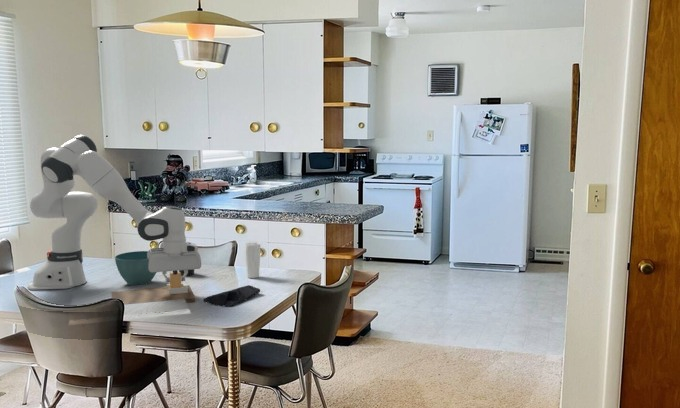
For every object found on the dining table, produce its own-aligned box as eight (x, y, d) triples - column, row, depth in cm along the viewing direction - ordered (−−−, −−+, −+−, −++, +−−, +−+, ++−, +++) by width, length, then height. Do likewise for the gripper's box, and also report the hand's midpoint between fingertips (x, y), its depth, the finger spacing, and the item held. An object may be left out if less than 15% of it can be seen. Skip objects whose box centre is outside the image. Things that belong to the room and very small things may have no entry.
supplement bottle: (192, 276, 277) (191, 249, 275) (177, 276, 277) (176, 249, 275) (196, 272, 284) (195, 246, 282) (181, 272, 284) (180, 246, 282)
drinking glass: (262, 275, 279) (261, 242, 277) (258, 279, 272) (258, 245, 270) (247, 275, 279) (247, 242, 277) (243, 278, 273) (243, 245, 271)
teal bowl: (147, 290, 253) (146, 260, 252) (107, 287, 257) (106, 258, 255) (168, 279, 271) (167, 251, 269) (130, 277, 274) (129, 250, 273)
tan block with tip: (171, 292, 244) (170, 267, 243) (170, 290, 248) (169, 265, 246) (181, 291, 245) (180, 266, 244) (180, 289, 249) (179, 264, 248)
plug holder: (169, 294, 242) (168, 289, 241) (167, 288, 250) (166, 284, 249) (187, 292, 244) (187, 287, 244) (185, 287, 252) (185, 282, 252)
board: (111, 309, 226) (111, 305, 226) (111, 295, 245) (111, 291, 245) (195, 301, 237) (195, 297, 237) (189, 288, 255) (189, 285, 255)
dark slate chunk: (266, 295, 247) (266, 284, 247) (228, 309, 229) (228, 296, 228) (237, 290, 255) (237, 278, 255) (198, 303, 237) (198, 290, 236)
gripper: (147, 250, 238) (148, 285, 240) (201, 246, 245) (202, 281, 247) (146, 247, 244) (147, 281, 246) (199, 244, 251) (200, 277, 253)
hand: (175, 281), depth 246 cm, fingers open, 5 cm apart
